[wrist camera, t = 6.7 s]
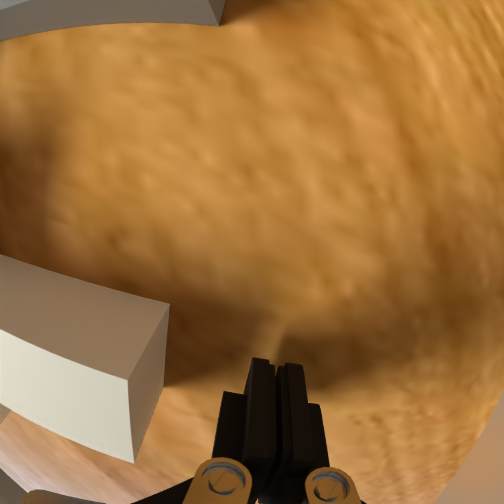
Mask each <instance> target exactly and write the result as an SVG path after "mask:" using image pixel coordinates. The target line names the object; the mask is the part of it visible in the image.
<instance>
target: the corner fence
mask: <svg viewBox="0 0 504 504" xmlns="http://www.w3.org/2000/svg"><path fill="white" fill-rule="evenodd" d="M225 3H226V0H0V41H3V40H7V39H11V38H15V37H20V36H24V35H29V34H34V33H39V32H45V31H51V30H57V29H63V28H71V27H79V26H88V25H99V24H114V23H142V22H157V23H187V24H201V25H213V26H219V24H220V21H221V17H222V13H223V10H224V6H225Z"/></svg>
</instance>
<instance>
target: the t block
mask: <svg viewBox="0 0 504 504" xmlns="http://www.w3.org/2000/svg"><path fill="white" fill-rule="evenodd" d="M169 310H170V304H169V303H165V302H161V301H157V300H153V299H149V298H145V297H141V296H137V295H133V294H129V293H126V292H122V291H118V290H115V289H111V288H107V287H104V286H100V285H97V284H93V283H90V282H86V281H83V280H79V279H76V278H73V277H69V276H66V275H63V274H60V273H56V272H53V271H50V270H47V269H44V268H41V267H37V266H34V265H31V264H28V263H25V262H22V261H19V260H16V259H14V258H11V257H8V256H5V255H2V254H0V424H1V423H2V421H3V420H4V419H5V417H6V416H7V415H8V413H9V412H10V411H11V410H12V411H14V412H16V413H18V414H20V415H21V416H23V417H25V418H27V419H29V420H31V421H32V422H34V423H36V424H38V425H40V426H42V427H44V428H46V429H48V430H50V431H52V432H55V433H57V434H59V435H61V436H63V437H65V438H68V439H70V440H72V441H75V442H77V443H79V444H82V445H84V446H87V447H89V448H92V449H94V450H97V451H99V452H102V453H105V454H107V455H110V456H113V457H116V458H119V459H122V460H125V461H128V462H131V463H135V460H136V458H137V455H138V452H139V450H140V447H141V444H142V442H143V439H144V436H145V434H146V431H147V428H148V426H149V423H150V421H151V418H152V415H153V413H154V410H155V408H156V405H157V402H158V400H159V397H160V395H161V392H162V390H163V386H164V369H165V355H166V342H167V331H168V320H169Z"/></svg>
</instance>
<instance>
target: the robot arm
mask: <svg viewBox="0 0 504 504" xmlns="http://www.w3.org/2000/svg"><path fill="white" fill-rule="evenodd" d="M257 499H258V503H259V504H366V503H365V502H363V501H362V500H360V498H359V495H358V492H357V490H356V487H355V484H354V482H353V480H352V479H351V477H350V476H349V475H348V474H347V473H345V472H344V471H342V470H340V469H337V468H333V467H330V464H329V458H328V451H327V445H326V438H325V432H324V426H323V420H322V414H321V409H320V406H319V404H313V403H308V399H307V391H306V384H305V377H304V370H303V365H301V364H294V363H285V365H284V366H279V367H278V370H277V373H276V376H275V365H272V364H269V360H267V359H261V358H255V357H253V358H252V361H251V365H250V369H249V373H248V377H247V381H246V385H245V389H244V393H243V394H238V393H232V392H227V391H224V392H223V397H222V402H221V407H220V412H219V418H218V423H217V429H216V435H215V440H214V446H213V452H212V458H211V459H209V460H206V461H205V462H204V463H202V464H201V465H200V466H199V468H198V469H197V471H196V473H195V476H194V477H193V478H191V479H188V480H186V481H184V482H182V483H180V484H178V485H175V486H173V487H171V488H169V489H166V490H164V491H162V492H159V493H157V494H154V495H152V496H149V497H147V498H144V499H142V500H139V501H137V502H134V503H131V504H255V503H256V501H257ZM22 504H106V503H100V502H94V501H89V500H84V499H79V498H74V497H70V496H65V495H61V494H57V493H53V492H50V491H46V490H38V489H37V490H33V491H30V492H29V493H27V494H26V495H25V496H24V499H23V501H22Z"/></svg>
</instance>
